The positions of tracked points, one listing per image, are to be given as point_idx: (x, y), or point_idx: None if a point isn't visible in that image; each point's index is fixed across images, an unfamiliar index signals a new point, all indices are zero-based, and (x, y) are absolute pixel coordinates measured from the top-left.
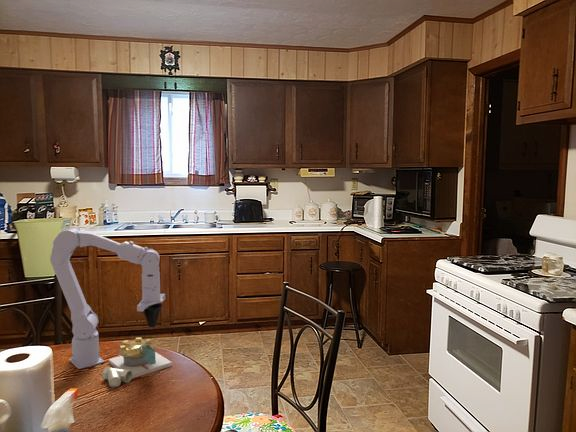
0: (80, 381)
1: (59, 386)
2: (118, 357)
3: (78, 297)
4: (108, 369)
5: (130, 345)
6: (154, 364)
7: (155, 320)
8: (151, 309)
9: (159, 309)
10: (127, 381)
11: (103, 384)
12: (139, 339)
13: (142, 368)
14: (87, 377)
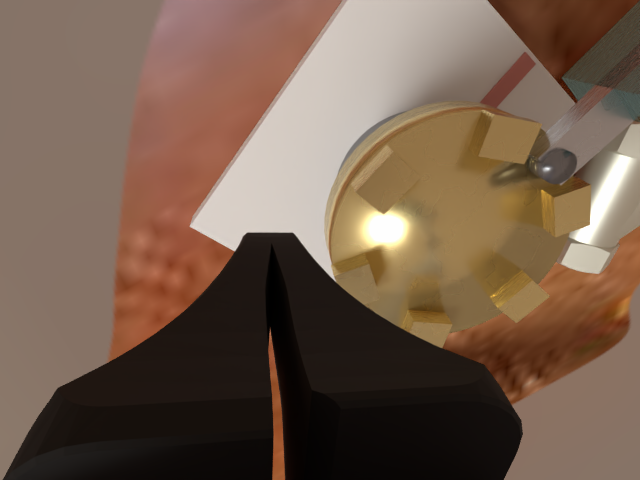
0: (568, 318)
1: (598, 355)
2: None
3: None
4: (614, 249)
5: (453, 279)
6: (454, 48)
7: (294, 264)
8: (497, 456)
9: (208, 359)
10: None
11: None
12: (370, 272)
13: (513, 102)
14: (534, 316)
